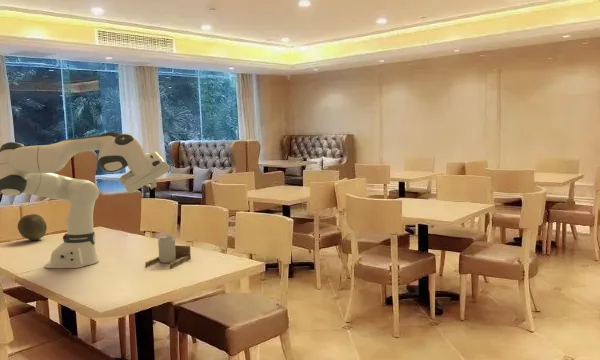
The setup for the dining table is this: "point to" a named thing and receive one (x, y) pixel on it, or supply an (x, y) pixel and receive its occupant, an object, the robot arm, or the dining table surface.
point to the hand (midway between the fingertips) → (153, 186)
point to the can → (167, 249)
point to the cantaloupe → (32, 227)
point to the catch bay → (181, 253)
